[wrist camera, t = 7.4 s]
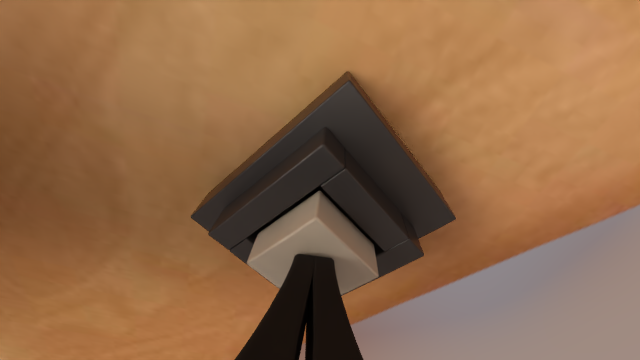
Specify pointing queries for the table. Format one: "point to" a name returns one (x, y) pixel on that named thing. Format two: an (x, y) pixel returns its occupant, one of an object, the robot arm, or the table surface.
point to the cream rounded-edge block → (315, 244)
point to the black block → (331, 180)
